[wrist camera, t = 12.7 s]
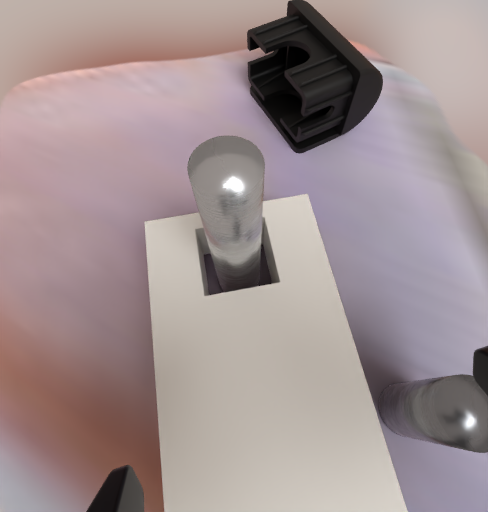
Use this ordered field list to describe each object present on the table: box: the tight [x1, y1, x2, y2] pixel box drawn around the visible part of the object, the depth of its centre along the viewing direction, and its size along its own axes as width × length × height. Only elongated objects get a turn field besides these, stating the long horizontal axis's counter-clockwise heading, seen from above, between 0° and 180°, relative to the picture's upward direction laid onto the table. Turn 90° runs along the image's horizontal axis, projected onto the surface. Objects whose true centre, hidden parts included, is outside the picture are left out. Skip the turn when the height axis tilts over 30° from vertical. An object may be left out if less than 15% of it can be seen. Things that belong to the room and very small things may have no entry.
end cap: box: [247, 0, 383, 153], centre depth 28 cm, size 10×7×7 cm
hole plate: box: [145, 194, 408, 512], centre depth 20 cm, size 18×11×4 cm, turn 10°
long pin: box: [188, 136, 265, 292], centre depth 19 cm, size 3×3×12 cm
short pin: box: [379, 375, 488, 453], centre depth 17 cm, size 3×3×7 cm
